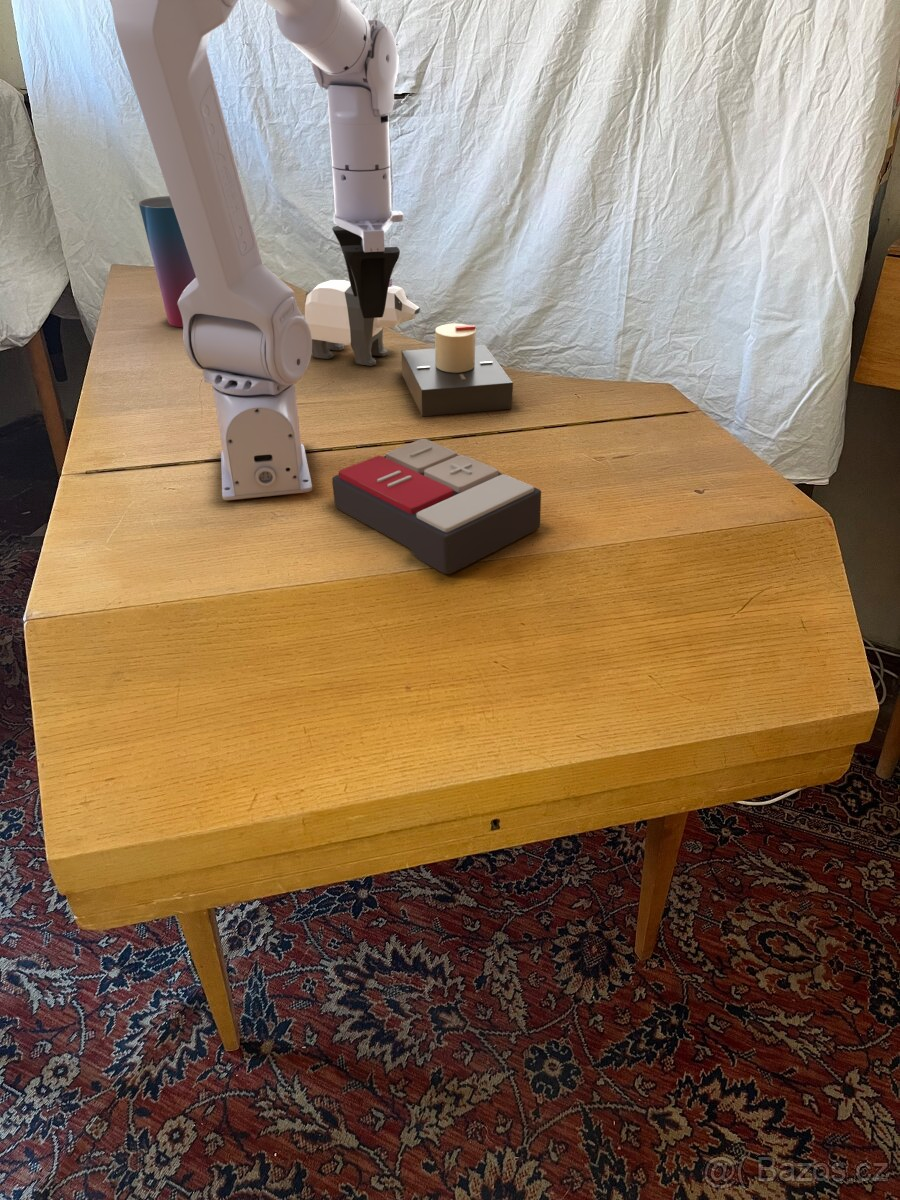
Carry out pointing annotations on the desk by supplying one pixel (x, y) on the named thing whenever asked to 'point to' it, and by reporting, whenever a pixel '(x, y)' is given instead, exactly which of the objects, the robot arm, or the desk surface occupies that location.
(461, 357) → the dial
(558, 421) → the desk surface
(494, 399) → the panel
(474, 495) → the calculator
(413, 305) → the giant panda
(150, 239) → the cup
